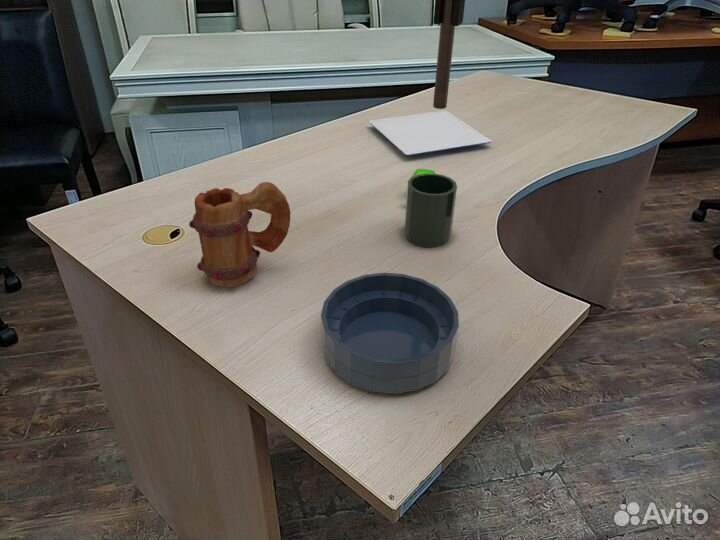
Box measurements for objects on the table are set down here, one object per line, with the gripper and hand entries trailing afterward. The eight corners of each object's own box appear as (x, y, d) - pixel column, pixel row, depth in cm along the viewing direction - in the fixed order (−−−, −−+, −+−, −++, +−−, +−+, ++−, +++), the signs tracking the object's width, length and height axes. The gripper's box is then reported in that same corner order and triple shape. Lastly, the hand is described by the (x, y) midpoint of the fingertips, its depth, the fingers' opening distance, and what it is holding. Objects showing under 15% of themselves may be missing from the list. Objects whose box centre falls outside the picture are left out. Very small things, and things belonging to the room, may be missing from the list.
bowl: (467, 325, 74) (473, 292, 70) (429, 416, 61) (434, 381, 57) (355, 293, 79) (355, 261, 76) (299, 371, 67) (296, 336, 63)
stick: (447, 105, 80) (466, -66, 67) (444, 109, 78) (462, -65, 66) (435, 103, 81) (451, -67, 68) (431, 107, 79) (446, -66, 66)
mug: (202, 298, 78) (184, 209, 69) (198, 268, 84) (180, 183, 76) (299, 281, 82) (293, 194, 73) (288, 253, 88) (281, 170, 79)
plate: (491, 148, 124) (493, 140, 123) (405, 162, 118) (406, 153, 116) (445, 117, 141) (446, 109, 140) (368, 127, 135) (368, 120, 133)
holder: (455, 229, 95) (462, 178, 89) (442, 252, 89) (448, 199, 83) (413, 220, 97) (417, 170, 91) (398, 241, 91) (401, 189, 85)
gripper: (395, -207, 59) (387, 23, 72) (533, -214, 54) (496, 34, 67) (417, -199, 64) (406, 13, 78) (544, -204, 59) (508, 23, 73)
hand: (448, 22), depth 73 cm, fingers closed on stick, 2 cm apart
